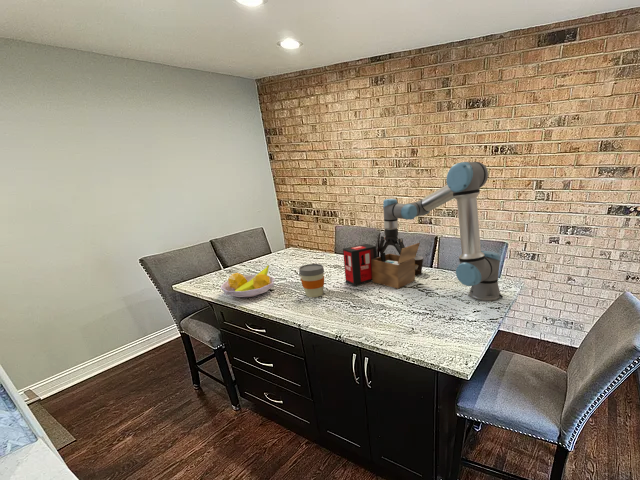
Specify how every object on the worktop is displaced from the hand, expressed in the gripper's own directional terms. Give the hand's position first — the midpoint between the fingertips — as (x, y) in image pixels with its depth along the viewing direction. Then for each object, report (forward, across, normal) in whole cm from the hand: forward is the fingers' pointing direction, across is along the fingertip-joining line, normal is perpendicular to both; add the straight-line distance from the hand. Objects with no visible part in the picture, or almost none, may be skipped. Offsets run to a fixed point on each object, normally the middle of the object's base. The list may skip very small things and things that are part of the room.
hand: (392, 265), depth 192 cm
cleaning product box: (+9, +16, +10) cm, 21 cm away
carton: (+9, 0, 0) cm, 9 cm away
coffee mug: (+10, -2, -19) cm, 21 cm away
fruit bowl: (+9, +52, +58) cm, 78 cm away
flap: (-9, -12, 0) cm, 15 cm away
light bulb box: (+9, 0, 0) cm, 9 cm away
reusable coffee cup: (+9, +22, +40) cm, 46 cm away
